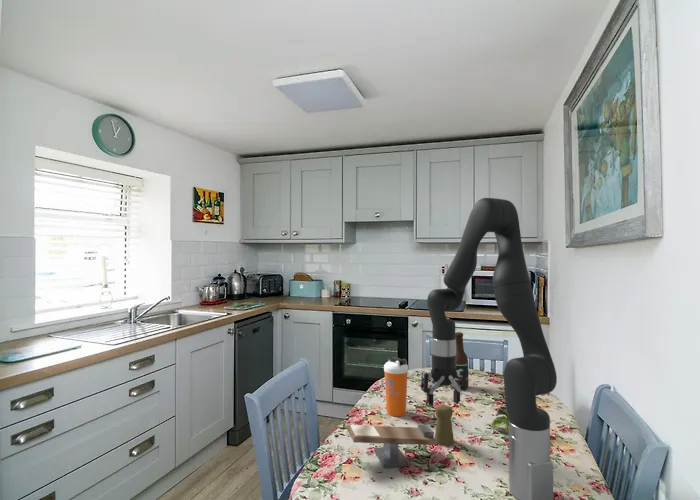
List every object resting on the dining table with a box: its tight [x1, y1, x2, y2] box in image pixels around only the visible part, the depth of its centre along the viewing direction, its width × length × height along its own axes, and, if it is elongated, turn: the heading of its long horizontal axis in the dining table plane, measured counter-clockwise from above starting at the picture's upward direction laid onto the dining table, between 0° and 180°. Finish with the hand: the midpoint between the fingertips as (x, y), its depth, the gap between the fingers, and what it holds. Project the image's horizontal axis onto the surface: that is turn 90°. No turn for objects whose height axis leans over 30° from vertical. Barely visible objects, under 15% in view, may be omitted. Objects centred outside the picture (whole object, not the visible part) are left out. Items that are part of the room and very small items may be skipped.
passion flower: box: [490, 404, 509, 433], centre depth 133 cm, size 11×11×12 cm
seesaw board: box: [346, 424, 436, 446], centre depth 116 cm, size 24×8×3 cm, turn 103°
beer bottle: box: [449, 331, 469, 391], centre depth 176 cm, size 8×8×24 cm
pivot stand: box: [373, 443, 410, 470], centre depth 116 cm, size 10×7×6 cm
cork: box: [434, 404, 455, 447], centre depth 126 cm, size 6×6×11 cm
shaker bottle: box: [383, 356, 409, 418], centre depth 149 cm, size 9×9×20 cm
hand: (443, 404), depth 126 cm, fingers open, 8 cm apart
